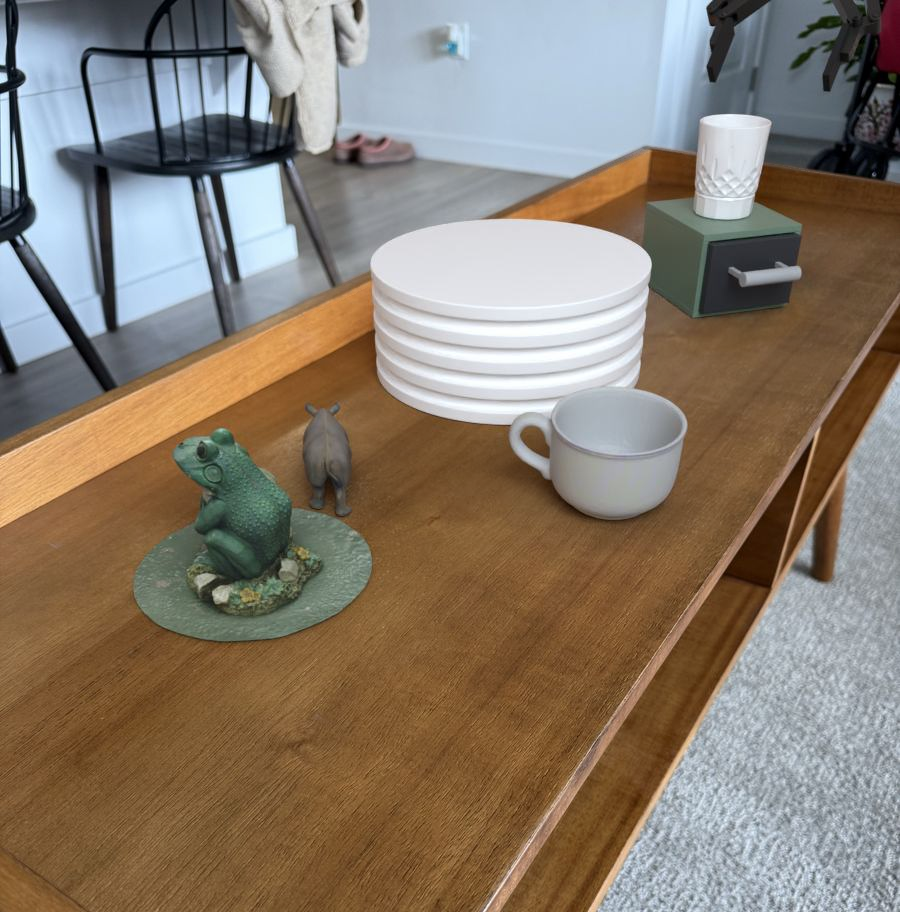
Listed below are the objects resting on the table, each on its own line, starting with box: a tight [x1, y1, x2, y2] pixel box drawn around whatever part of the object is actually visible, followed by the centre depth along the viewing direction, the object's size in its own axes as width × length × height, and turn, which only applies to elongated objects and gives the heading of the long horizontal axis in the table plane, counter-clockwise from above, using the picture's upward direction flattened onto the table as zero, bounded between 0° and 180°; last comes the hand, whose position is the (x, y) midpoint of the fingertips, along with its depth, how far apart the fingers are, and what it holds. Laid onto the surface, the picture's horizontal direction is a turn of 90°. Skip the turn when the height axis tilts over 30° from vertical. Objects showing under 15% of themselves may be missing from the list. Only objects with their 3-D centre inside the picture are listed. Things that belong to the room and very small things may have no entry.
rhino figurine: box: [301, 402, 353, 517], centre depth 83 cm, size 4×14×6 cm, turn 9°
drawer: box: [699, 233, 803, 314], centre depth 115 cm, size 18×11×8 cm, turn 17°
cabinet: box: [641, 197, 803, 319], centre depth 118 cm, size 15×13×10 cm
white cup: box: [693, 113, 772, 220], centre depth 112 cm, size 8×8×10 cm
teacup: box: [508, 386, 688, 521], centre depth 79 cm, size 14×11×8 cm
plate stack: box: [369, 218, 652, 426], centre depth 100 cm, size 28×28×12 cm
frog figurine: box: [132, 427, 373, 642], centre depth 70 cm, size 18×18×12 cm
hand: (766, 79), depth 112 cm, fingers open, 13 cm apart
